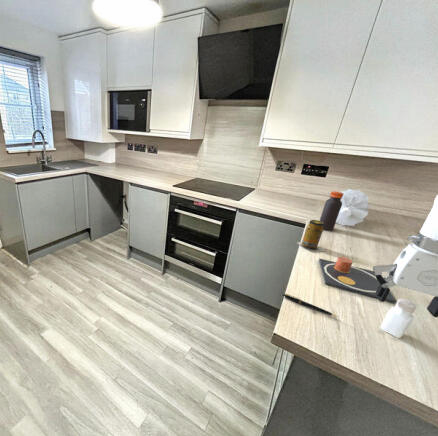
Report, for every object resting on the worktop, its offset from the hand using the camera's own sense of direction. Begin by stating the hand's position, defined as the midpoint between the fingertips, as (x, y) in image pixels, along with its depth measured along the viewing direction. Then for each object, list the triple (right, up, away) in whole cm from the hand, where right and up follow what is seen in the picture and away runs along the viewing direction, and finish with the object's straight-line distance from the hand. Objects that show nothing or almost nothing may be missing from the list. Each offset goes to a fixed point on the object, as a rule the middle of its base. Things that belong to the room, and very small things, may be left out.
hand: (404, 305), depth 59 cm
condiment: (+9, +9, +47) cm, 48 cm away
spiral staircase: (+50, +20, +79) cm, 96 cm away
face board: (+8, 0, +25) cm, 26 cm away
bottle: (+31, +16, +67) cm, 76 cm away
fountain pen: (-17, -5, +11) cm, 21 cm away
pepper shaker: (0, -8, +3) cm, 9 cm away
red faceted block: (+8, +3, +29) cm, 30 cm away
